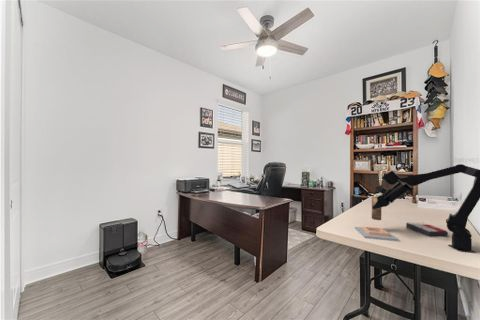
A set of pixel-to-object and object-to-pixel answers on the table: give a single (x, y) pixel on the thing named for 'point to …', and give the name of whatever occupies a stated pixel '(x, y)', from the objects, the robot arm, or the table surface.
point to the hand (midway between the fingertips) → (373, 207)
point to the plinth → (375, 233)
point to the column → (375, 210)
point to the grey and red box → (427, 229)
